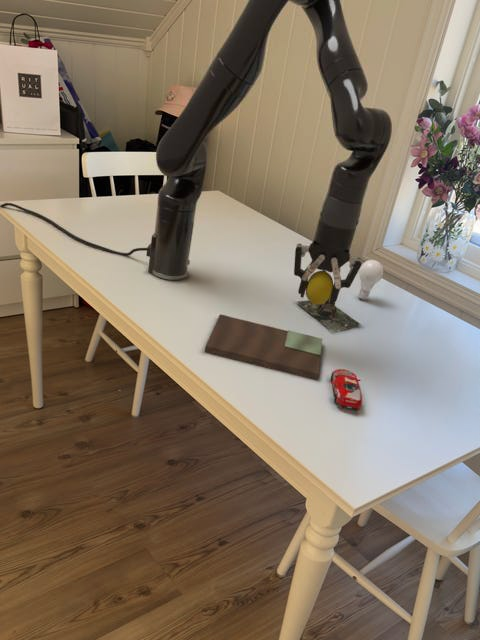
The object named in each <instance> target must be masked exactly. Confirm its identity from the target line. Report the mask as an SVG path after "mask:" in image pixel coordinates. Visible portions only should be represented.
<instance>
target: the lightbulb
mask: <svg viewBox="0 0 480 640" xmlns="http://www.w3.org/2000/svg"><path fill="white" fill-rule="evenodd" d="M384 271H385V270H384V267H383V265H382V263H381V262H380V261H378V260H376V259H367V260H365V261H364V262H363V263H361V267H360V269H359V271H358V276H359V280H360V289H359V292H358V295H357V296H358V298H359V299H360V300H362V301H364V300H368V298H369V297H370V293H371V291H372V290H373V288H374V286H375V285H377V284H378V283H379V282H380V281H381V280H382V279H383V276H384Z"/></svg>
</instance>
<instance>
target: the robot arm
mask: <svg viewBox="0 0 480 640" xmlns="http://www.w3.org/2000/svg"><path fill="white" fill-rule="evenodd" d="M288 2H290V3H292V4H294V5H296V6H299V7H301V9H302V10H303V12H304V13H305V15H306V16H307V18H308V20H309V22H310V23H311V26H312V29H313V31H314V35H315V42H316V45H315V46H316V47H315V48H316V53H315V54H316V62H317V68H318V71H319V74H320V77H321V81H322V82H323V85H324V87H325V91H326V93H327V96H328V98H329V101H330V112H331V120H332V128H333V133H334V136H335V139H336V140H337V142H338V144H339V145H340V146H341V147H342V148H343V149H345V150H346V151H351V153H350V155H349V157H348V158H347V159H344V160H343V161H340V162H338V163H336V165H335V166H334V168H333V171H332V174H331V178H330V181H329V185H328V190H327V192H326V196H325V198H324V200H323V203H322V206H321V210H320V213H319V218H318V221H317V225H316V229H315V233H314V235H313V236H314V237H313V240H312V242H311V243H310V245H302V243H297V244H296V246H295V251H294V265H293V267H294V268H293V275H294V276H296V277H298V278H300V283H299V286H298V291H297V292H298V294H299V295H300V296H299V297H300V298H305V295H306V286H307V283H308V280H309V278H310V277H311V275H312V274H314V273H315V272H316V270H318V271H322V270H326V272H327V273H332V276H333V282H335V284H334V283H333V285H334V286H333V290H332V294H331V296H330V299H329V304H332V303H333V302H335V303H336V302H337V300H338V298H339V294H340V291H341V289H343V288H344V289H345V288H346V289H350V288H351V286H352V284H353V282H354V280H355V278H356V277H357V274H359V269H360V267H361V265H362V259H361V257H354V256H353V255H352V256H351V253H350V251H351V247H352V243H353V240H354V237H355V233H356V230H357V227H358V225H359V223H360V217H361V213H362V207H363V203H364V199H365V196H366V193H367V189H368V186H369V182H370V180H371V178H372V176H373V175H374V172H375V171H376V170H377V167H378V166H379V164H380V162H381V160H382V158H383V157H384V155H385V153H386V152H387V149H388V147H389V144H390V143H391V139H392V134H393V133H392V132H393V122H392V118H391V117H390V115H389V113H388V112H387V111H385V110H384V109H381V108H375V107H364V106H363V104H362V102H361V101H362V99H364V97H365V96H366V94H367V93H368V90H369V89H368V88H369V86H368V85H369V84H368V80H367V76H366V74H365V72H364V69H363V66H362V64H361V62H360V61H361V60H360V59H359V56H358V54H357V52H356V48H355V46H354V44H353V42H352V38H351V35H350V32H349V30H348V29H349V28H348V26H347V23H346V20H345V15H344V12H343V7H342V3H341V0H248V1H247V3H246V5H245V6H244V8H243V10H242V12H241V13H240V15H239V17H238V19H237V20H236V22H235V24H234V25H233V28H232V30H231V31H230V33H229V34H228V36H227V37H226V39H225V41H224V42H223V43H222V45H221V47H220V48H219V50H218V51H217V53H216V55H215V56H214V58H213V60H212V61H211V63H210V64H209V66H208V68H207V70H206V71H205V74H204V75H203V76H202V78H201V80H200V81H199V83H198V85H197V87H196V88H195V90H194V92H193V93H192V95H191V97H190V98H189V100H188V102H187V103H186V105H185V107H184V109H183V110H182V112H181V113H180V114H179V115H178V117H177V118H176V120H175V121H174V122H173V124H172V125H171V126H170V128H169V129H168V130H167V131H166V132H165V133H164V135H163V137H162V138H161V139H160V141H159V142H158V145H157V148H156V151H155V152H156V153H155V162H156V165H157V169H158V171H159V172H160V173H161V174H162V175H163V176H165V177H166V178H167V180H166V181H165V183H164V185H163V186H162V187H161V188H160V189H159V190H158V194H157V205H156V213H155V215H156V216H155V224H154V232H153V234H152V235H151V239H150V244H148V246H147V247H137V248H133V249H131V250H130V251H129V252H120V251H117V250H113V249H111V248H108V247H105V246H102V245H99V244H96V243H92V242H90V241H88V240H85V239H82V238H81V237H78V236H77V235H74V233H71V232H70V231H68V230H67V229H65V228H64V227H62V226H61V225H59V224H57V222H55V221H53V220H52V219H50V218H48V217H46V216H45V215H43V214H40V213H38V212H36V211H34V210H30V209H27V208H25V207H22V206H20V205H18V204H16V203H12V202H5V203H2V204H0V208H4V207H7V206H8V207H9V206H10V207H14V208H15V209H19V210H21V211H23V212H25V213H29V214H32V215H33V216H36V217H38V218H41V219H43V220H45V221H46V222H48V223H49V224H51V225H53V226H54V227H56V228H57V229H59V230H60V231H62V232H63V233H65V234H66V235H68V236H69V237H71V238H73V239H75V240H76V241H79V242H81V243H83V244H85V245H88V246H91V247H94V248H96V249H100V250H103V251H105V252H108V253H111V254H114V255H115V254H116V255H118V256H124V257H127V256H128V257H129V256H131V255H132V254H134V253H136V252H143V251H145V252H146V257H149V260H148V270H147V272H148V273H149V274H153V275H154V276H155V277H157V278H160V279H163V280H169V281H180V280H181V281H182V280H184V279H186V278H187V276H188V269H189V266H190V262H191V261H190V254H191V247H192V240H193V239H192V238H193V232H194V226H195V219H196V211H197V204H198V202H199V199H200V197H201V195H202V193H203V188H204V183H205V177H206V172H207V166H208V149H207V148H208V147H207V145H206V142H205V140H206V138H207V137H208V136H209V134H210V133H211V132H212V131H213V130H214V129H215V128H216V127H218V125H220V124H221V123H222V122H223V121H224V120H225V119H226V118H228V116H229V115H231V114H232V113H233V112H234V111H235V110H236V109H237V108H238V107H239V106H240V105H241V103H242V102H243V101H244V100H245V99H246V98H247V96H248V95H249V93H250V91H251V90H252V88H253V87H254V85H256V82H257V81H258V79H259V78H260V75H261V73H262V71H263V68H264V67H263V66H264V62H265V58H266V51H267V44H268V38H269V36H270V33H271V30H272V27H273V25H274V23H275V22H276V20H277V18H278V17H279V15H280V14H281V12H282V11H283V9H284V8H285V6H286V5H287V4H288ZM307 253H308V255H309V256H310V259H311V261H310V262H309V263H308V265H307V266H306V268H305V269H302V258H303V257H305V256H306V254H307ZM347 263H349V267H348V268H349V271H348V273H347V274H346V277H345V278H344V279H342V276H341V268H342V267H343V266H344V265H345V264H347Z"/></svg>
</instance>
